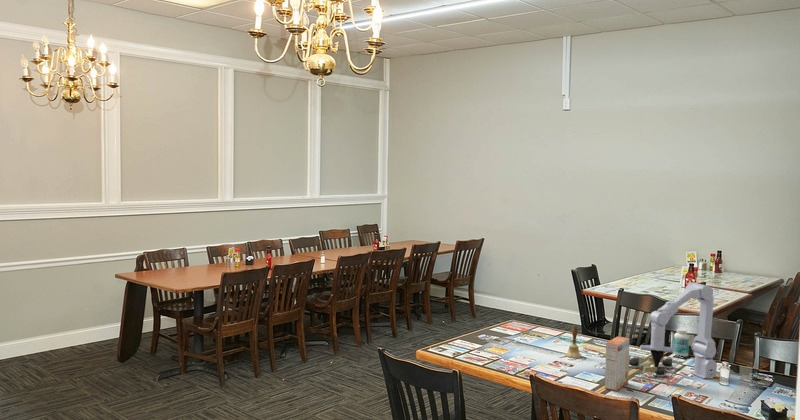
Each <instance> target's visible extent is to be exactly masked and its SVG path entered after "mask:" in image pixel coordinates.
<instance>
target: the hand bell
mask: <svg viewBox="0 0 800 420" xmlns="http://www.w3.org/2000/svg"><path fill="white" fill-rule="evenodd" d="M571 334H572V343H571V344H569V346H568V347H569V348H568V351H567V352H566V353H565V354H564V355H565V357H567V358H570V359H581V358H582V357H583V355H581V353H580V348H579V346H578V345H577V337H578V336H577V335H578V326H577V325H573V327H572V332H571Z"/></svg>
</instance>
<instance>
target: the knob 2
mask: <svg viewBox="0 0 800 420" xmlns="http://www.w3.org/2000/svg"><path fill="white" fill-rule="evenodd" d="M648 363H654V360H653V356H648ZM660 364H662V365H665V366H672V365H673V358H672V357H671V356H667V355H663V357H662V358H661V360H660Z"/></svg>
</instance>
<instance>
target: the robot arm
mask: <svg viewBox="0 0 800 420" xmlns="http://www.w3.org/2000/svg"><path fill="white" fill-rule="evenodd" d="M691 299H695V300H697V301H698V302H699V306H700V307H699V316H698V317H699V318H698V331H697V335H696V336H694V337H693V342H692V343H691V350H692V352H693V355H694V369H693V371H689V373H690V374H692V373H693V375H694V374H695V376H697V377H699V376H700V377H699V378H701V377H702V378H701V379H703V378H707V379H711V378H710V377H716V376H717V361H715V360H714V358H715V356H716V354H717V348H716V342H715V339H713V337H712V327H713V326H712V325H713V315H714V302H715V301H714V300H715V299H714V289H713V288H712V287H711V286H710V285H706V284H703V283H698V282H694V281H692V282H690V283H688V284H687V285H686V286H685V289H684V290H683V291H682V292H681V293H680V294H679V295H678V296H677V297H676V298H675V299H674V300H673V301H672V300H671V301H666V302H665V303H664V305H662V306H661V307H659V308H658V309H657V310H654V311H652V312H651V313H650V315H649V317H648V319H649V322H650V325H651V332H650V333H651V334H650V344H645V345H643V344H642V345H640V348H639V350H640V351H649V352H650V354H651V357H653V360H654V362H653V363H654V366H655V367H658V366H659V364H661V362H660V360H661V358H662V357H664V356H665V353H672V354H673V353H674V350H675V349H674V348H673V347H670V346H665V335H666V334H665V333H666V325H667V324H668V323H669V320H670V319H671V318H672V316H673V315H675V314H676V313H678V312H679V307H681V306H682V305H684V304H685V303H686V302H688V301H689V300H691Z"/></svg>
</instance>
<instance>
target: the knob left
mask: <svg viewBox="0 0 800 420" xmlns="http://www.w3.org/2000/svg"><path fill="white" fill-rule="evenodd" d="M642 372H644V373H652V372H654V373H656V374H666V372H665V366H664V365H662V363H659V366H658V367H655V366H648V367H643V369H642Z"/></svg>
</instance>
